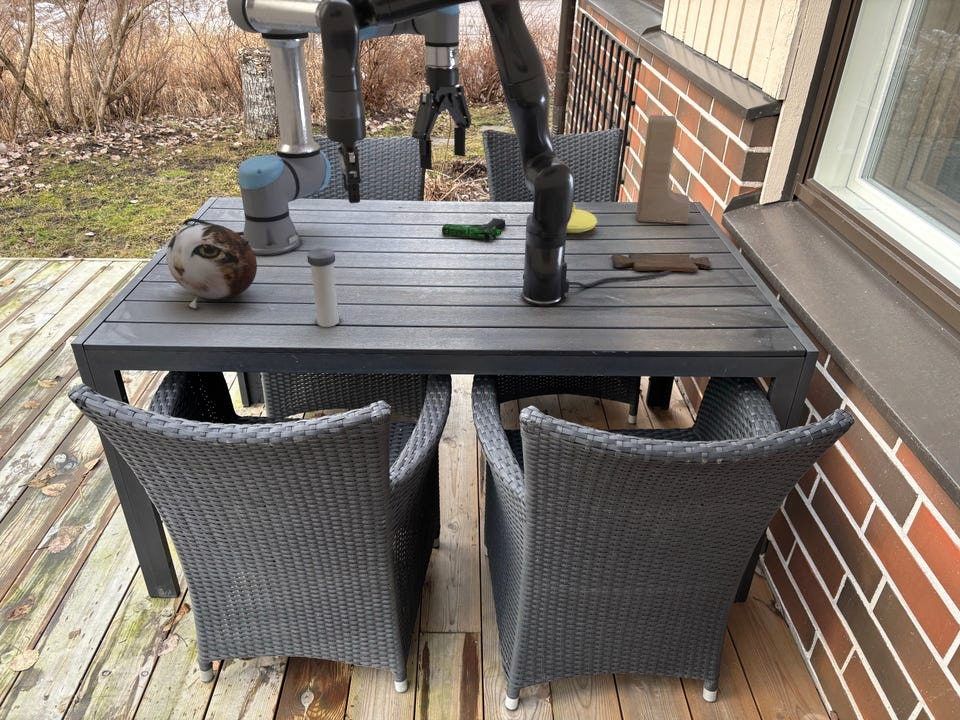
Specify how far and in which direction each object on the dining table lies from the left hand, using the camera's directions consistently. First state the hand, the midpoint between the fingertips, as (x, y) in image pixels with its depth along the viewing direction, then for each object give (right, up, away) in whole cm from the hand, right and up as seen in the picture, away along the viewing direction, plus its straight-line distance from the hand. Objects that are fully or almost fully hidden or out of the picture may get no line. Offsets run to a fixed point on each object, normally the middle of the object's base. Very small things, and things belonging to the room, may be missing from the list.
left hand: (443, 161), depth 169 cm
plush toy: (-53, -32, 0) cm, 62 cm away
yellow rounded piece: (+35, -8, +42) cm, 55 cm away
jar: (-25, -39, -11) cm, 47 cm away
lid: (-25, -25, -19) cm, 40 cm away
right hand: (-17, -14, -24) cm, 33 cm away
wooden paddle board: (+57, -22, +19) cm, 64 cm away
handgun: (+8, -10, +38) cm, 40 cm away
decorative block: (+64, -4, +50) cm, 82 cm away
